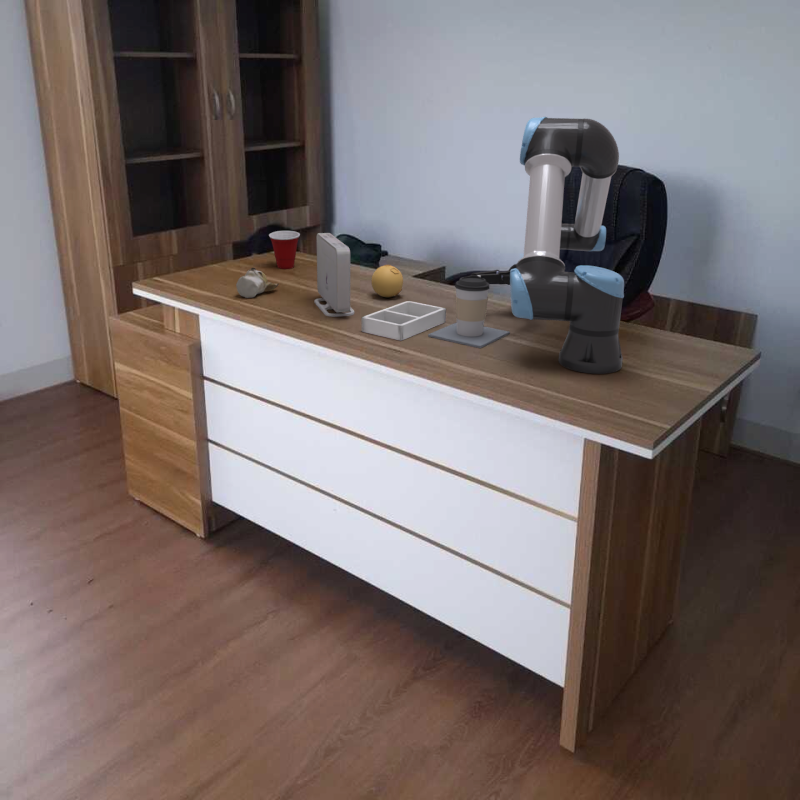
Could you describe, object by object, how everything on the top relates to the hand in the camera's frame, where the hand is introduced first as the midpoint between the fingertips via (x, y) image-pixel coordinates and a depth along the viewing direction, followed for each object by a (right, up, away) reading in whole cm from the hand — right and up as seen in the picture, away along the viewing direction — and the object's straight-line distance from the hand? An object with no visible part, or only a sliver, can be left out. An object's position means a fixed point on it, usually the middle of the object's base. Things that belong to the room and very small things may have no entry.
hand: (489, 288), depth 223 cm
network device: (-44, -3, +19) cm, 48 cm away
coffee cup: (-6, -13, -3) cm, 14 cm away
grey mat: (-6, -13, -3) cm, 15 cm away
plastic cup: (-65, +16, +68) cm, 95 cm away
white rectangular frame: (-23, -10, +3) cm, 25 cm away
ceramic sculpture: (-70, +2, +33) cm, 77 cm away
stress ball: (-28, +1, +33) cm, 43 cm away
